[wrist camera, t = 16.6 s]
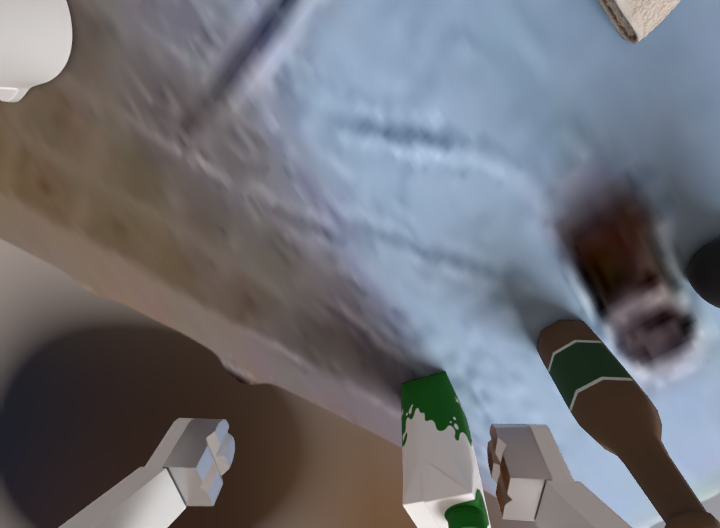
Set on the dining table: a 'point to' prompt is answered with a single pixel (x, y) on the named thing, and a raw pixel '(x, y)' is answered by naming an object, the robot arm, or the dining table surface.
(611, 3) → the washcloth
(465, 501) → the milk carton
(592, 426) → the beer bottle
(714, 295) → the cola bottle
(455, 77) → the dining table surface
